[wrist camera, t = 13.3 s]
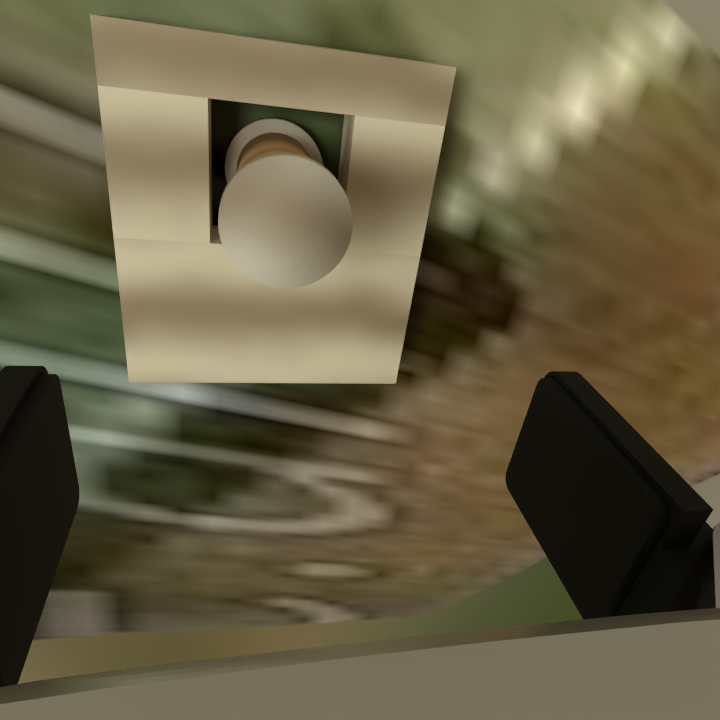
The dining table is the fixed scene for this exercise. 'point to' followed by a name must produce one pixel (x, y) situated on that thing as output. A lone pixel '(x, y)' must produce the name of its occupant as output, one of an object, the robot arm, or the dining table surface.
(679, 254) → the dining table surface
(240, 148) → the bobbin
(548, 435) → the robot arm
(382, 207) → the socket board
